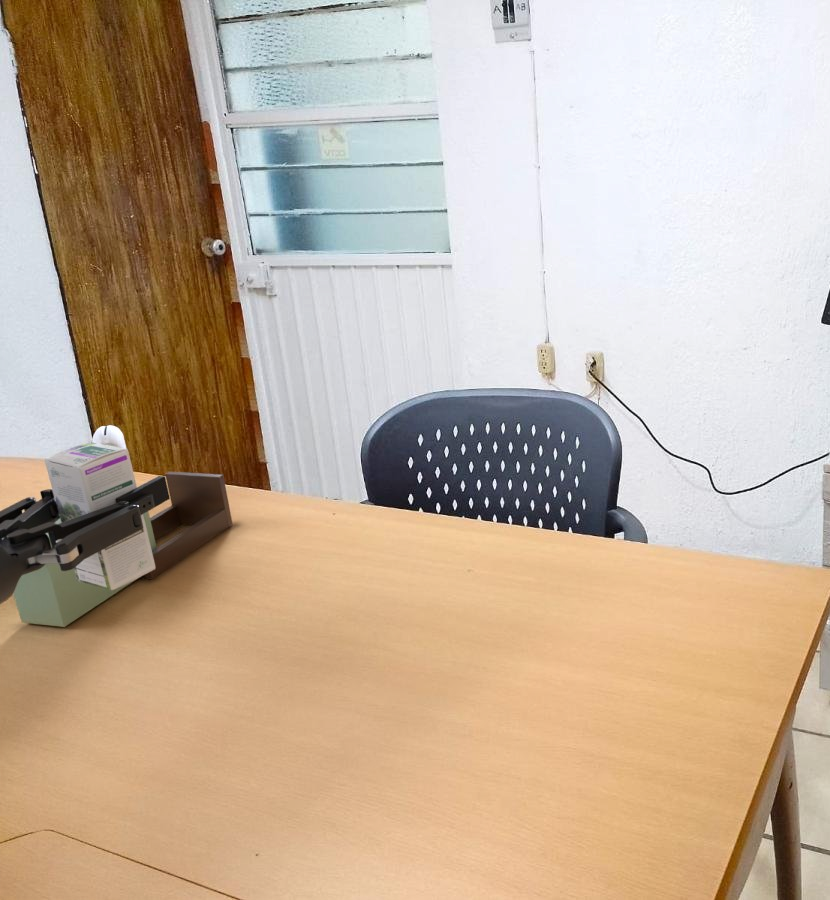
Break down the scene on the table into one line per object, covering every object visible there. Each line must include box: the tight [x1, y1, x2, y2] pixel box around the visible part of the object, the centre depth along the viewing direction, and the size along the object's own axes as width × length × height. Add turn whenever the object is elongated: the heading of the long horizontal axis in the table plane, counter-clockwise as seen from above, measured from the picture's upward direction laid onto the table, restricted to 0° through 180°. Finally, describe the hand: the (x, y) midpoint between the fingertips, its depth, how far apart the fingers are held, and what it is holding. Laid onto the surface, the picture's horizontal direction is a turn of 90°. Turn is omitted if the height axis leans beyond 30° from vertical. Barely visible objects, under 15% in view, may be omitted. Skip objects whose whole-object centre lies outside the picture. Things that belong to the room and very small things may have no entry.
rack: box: [144, 471, 234, 580], centre depth 115 cm, size 9×17×8 cm, turn 168°
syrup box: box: [44, 442, 155, 590], centre depth 88 cm, size 6×6×14 cm
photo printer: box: [91, 424, 127, 449], centre depth 130 cm, size 10×4×12 cm, turn 28°
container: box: [12, 511, 158, 628], centre depth 102 cm, size 6×16×11 cm, turn 168°
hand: (136, 485), depth 93 cm, fingers closed on syrup box, 6 cm apart
